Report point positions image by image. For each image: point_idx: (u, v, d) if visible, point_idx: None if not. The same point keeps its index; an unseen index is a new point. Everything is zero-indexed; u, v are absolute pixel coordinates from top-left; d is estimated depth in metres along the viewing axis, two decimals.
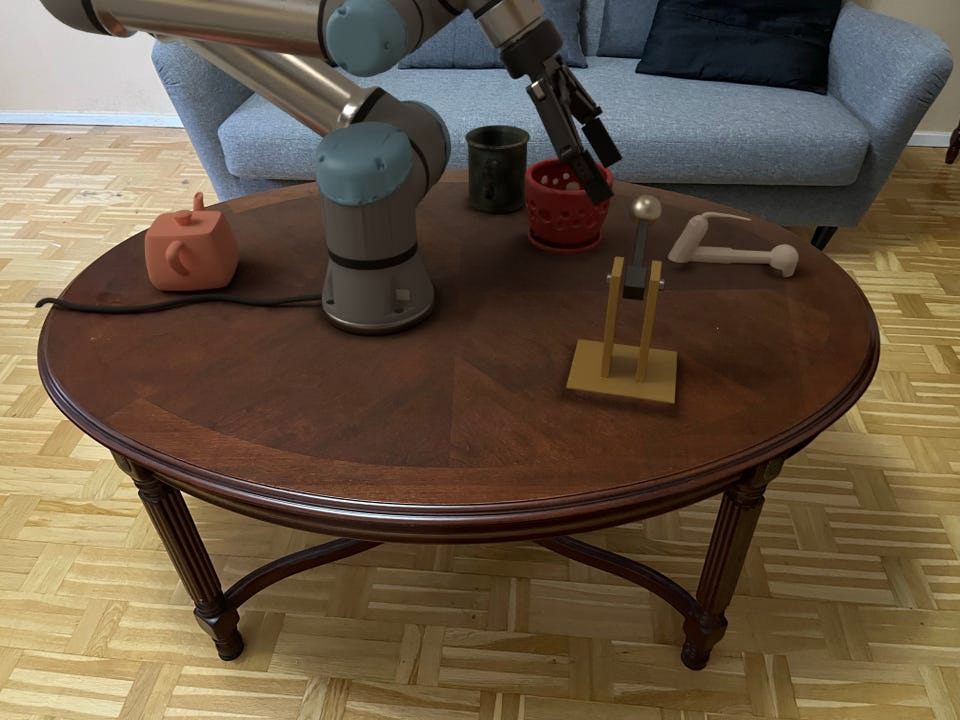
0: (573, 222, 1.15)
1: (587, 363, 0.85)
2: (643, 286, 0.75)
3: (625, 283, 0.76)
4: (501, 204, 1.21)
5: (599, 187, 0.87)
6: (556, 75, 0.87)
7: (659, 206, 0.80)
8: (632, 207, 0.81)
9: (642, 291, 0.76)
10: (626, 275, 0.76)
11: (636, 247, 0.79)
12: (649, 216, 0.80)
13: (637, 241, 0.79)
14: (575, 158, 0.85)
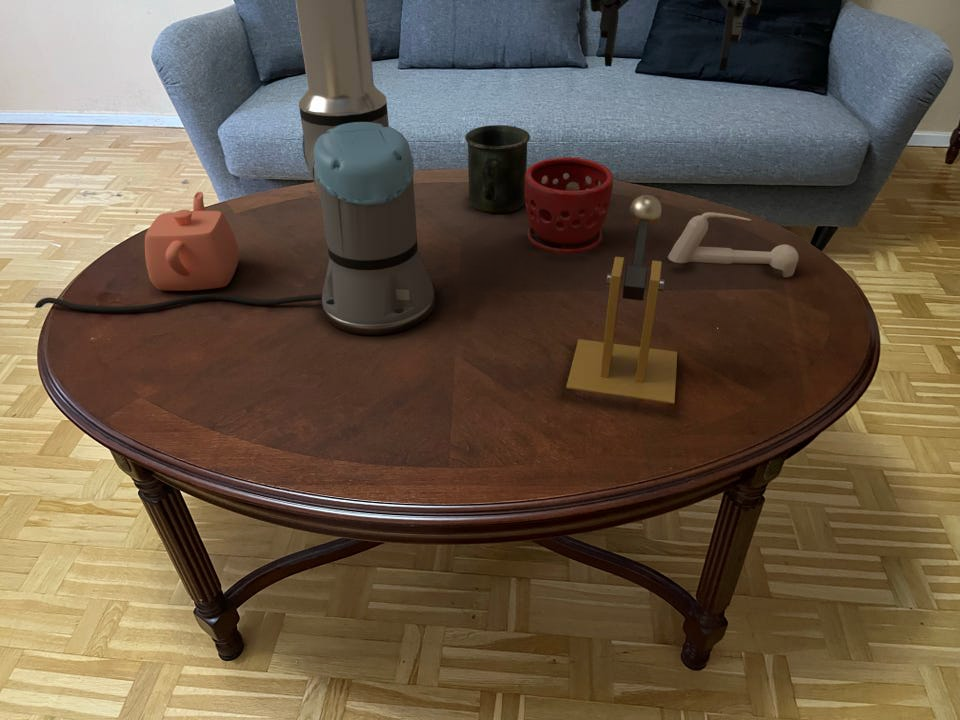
0: (573, 222, 1.15)
1: (587, 363, 0.85)
2: (643, 286, 0.75)
3: (625, 283, 0.76)
4: (501, 204, 1.21)
5: None
6: None
7: (659, 206, 0.80)
8: (632, 207, 0.81)
9: (642, 291, 0.76)
10: (626, 275, 0.76)
11: (636, 247, 0.79)
12: (649, 216, 0.80)
13: (637, 241, 0.79)
14: (745, 13, 0.85)
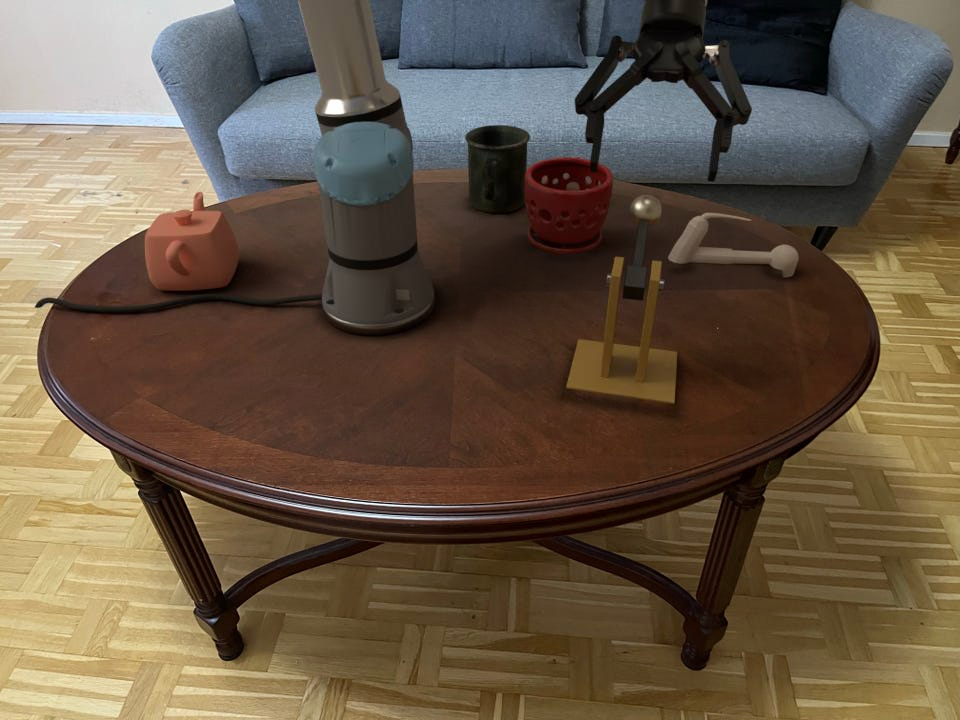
0: (573, 222, 1.15)
1: (587, 363, 0.85)
2: (643, 286, 0.75)
3: (625, 283, 0.76)
4: (501, 204, 1.21)
5: None
6: None
7: (659, 206, 0.80)
8: (632, 207, 0.81)
9: (642, 291, 0.76)
10: (626, 275, 0.76)
11: (636, 247, 0.79)
12: (649, 216, 0.80)
13: (637, 241, 0.79)
14: (734, 124, 0.83)
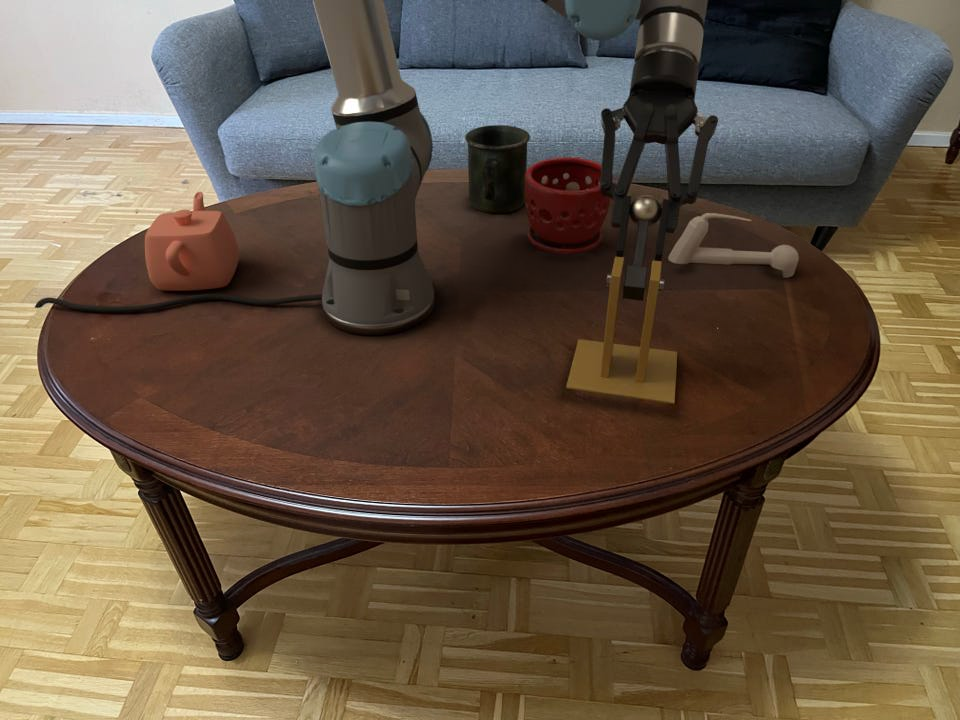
0: (573, 222, 1.15)
1: (587, 363, 0.85)
2: (643, 286, 0.75)
3: (625, 283, 0.76)
4: (501, 204, 1.21)
5: None
6: None
7: (659, 206, 0.80)
8: (632, 207, 0.81)
9: (642, 291, 0.76)
10: (626, 275, 0.76)
11: (636, 247, 0.79)
12: (649, 216, 0.80)
13: (637, 241, 0.79)
14: (681, 204, 0.81)
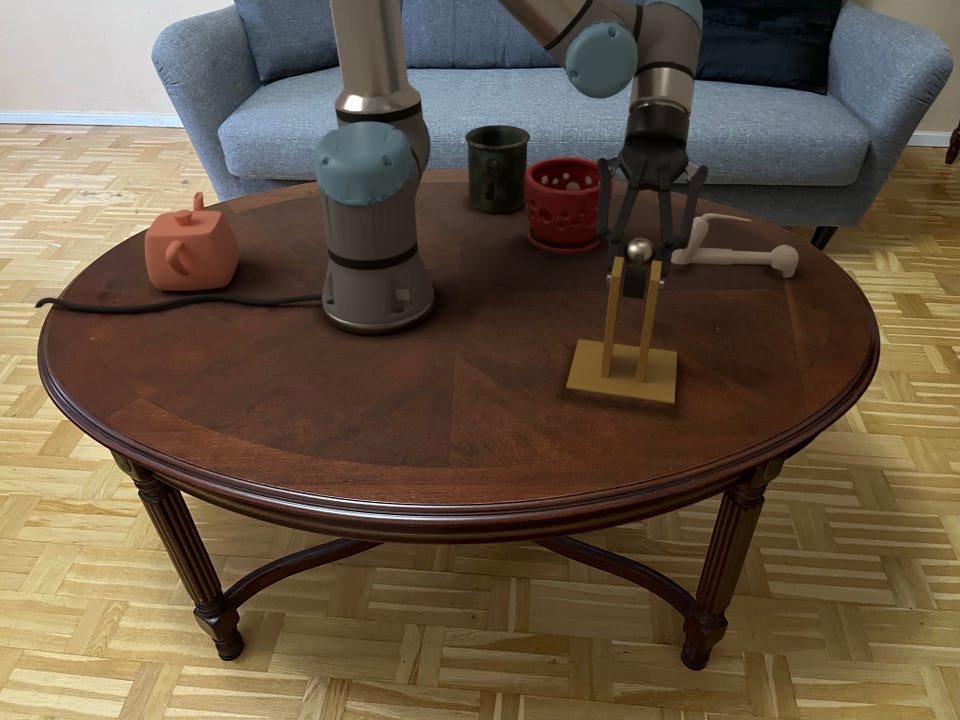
0: (573, 222, 1.15)
1: (587, 363, 0.85)
2: (644, 277, 0.75)
3: (626, 274, 0.76)
4: (501, 204, 1.21)
5: None
6: None
7: (653, 246, 0.85)
8: (628, 245, 0.85)
9: (643, 283, 0.75)
10: (627, 271, 0.77)
11: (634, 264, 0.81)
12: (644, 250, 0.84)
13: (634, 262, 0.81)
14: (674, 249, 0.85)
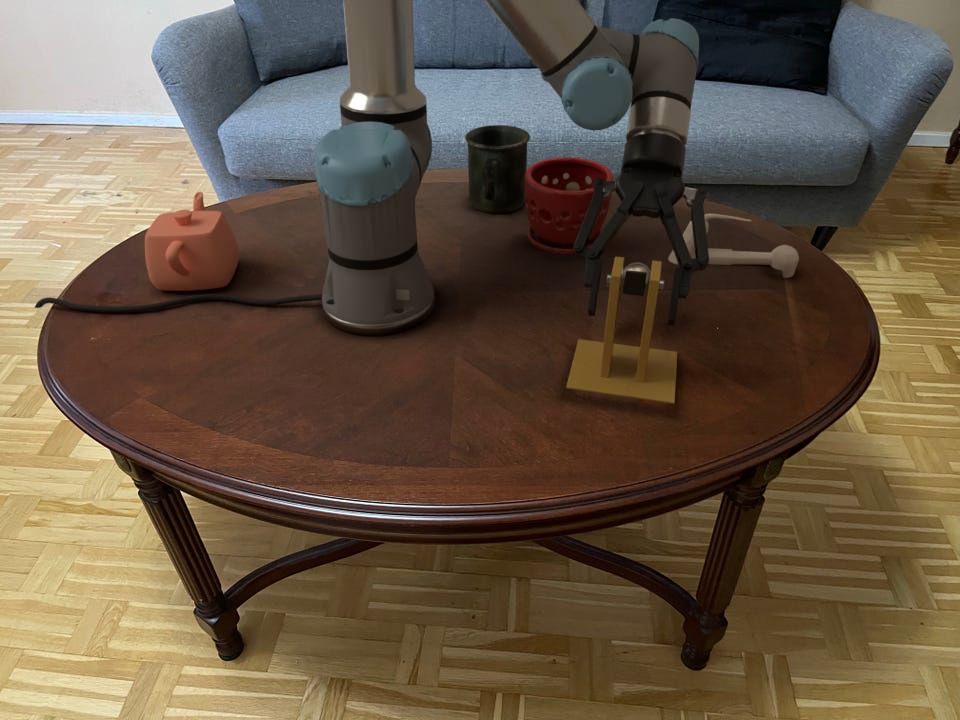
0: (573, 222, 1.15)
1: (587, 363, 0.85)
2: (645, 273, 0.75)
3: (627, 271, 0.76)
4: (501, 204, 1.21)
5: None
6: None
7: None
8: (625, 268, 0.86)
9: (644, 279, 0.75)
10: None
11: None
12: (641, 271, 0.85)
13: None
14: (693, 271, 0.86)
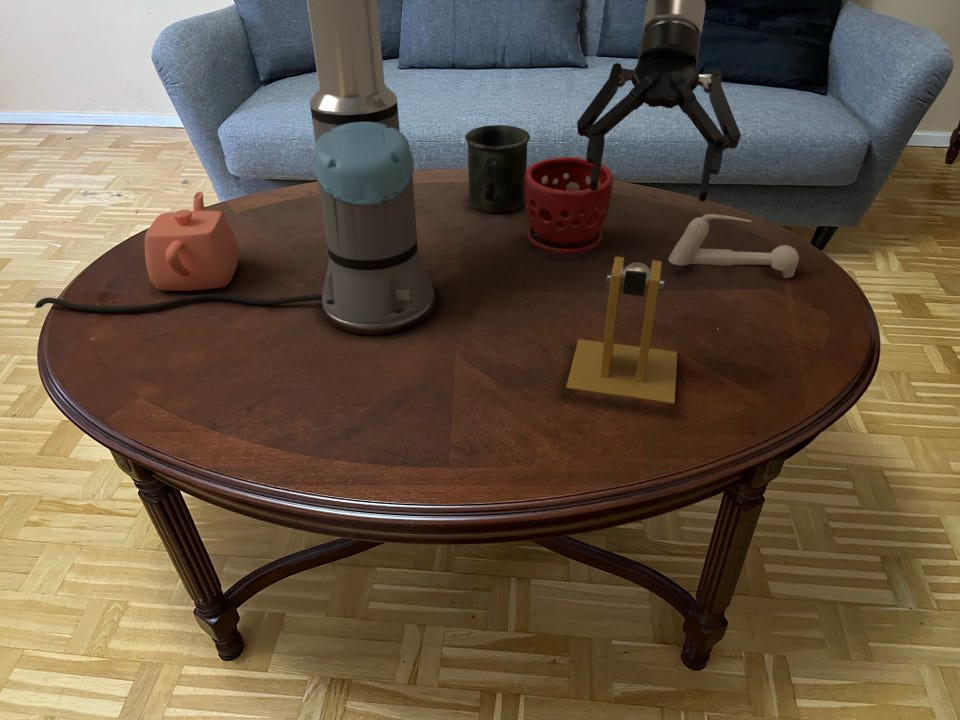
0: (573, 222, 1.15)
1: (587, 363, 0.85)
2: (645, 273, 0.75)
3: (627, 271, 0.76)
4: (501, 204, 1.21)
5: None
6: None
7: None
8: (625, 268, 0.86)
9: (644, 279, 0.75)
10: None
11: None
12: (641, 271, 0.85)
13: None
14: (724, 148, 0.89)
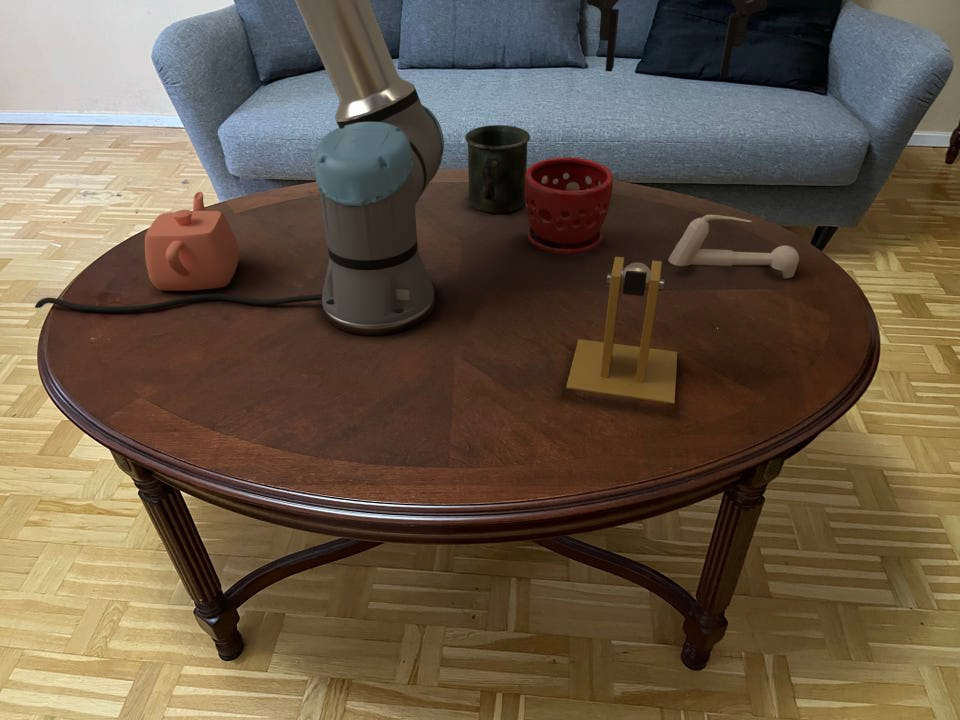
0: (573, 222, 1.15)
1: (587, 363, 0.85)
2: (645, 273, 0.75)
3: (627, 271, 0.76)
4: (501, 204, 1.21)
5: None
6: None
7: None
8: (625, 268, 0.86)
9: (644, 279, 0.75)
10: None
11: None
12: (641, 271, 0.85)
13: None
14: None
